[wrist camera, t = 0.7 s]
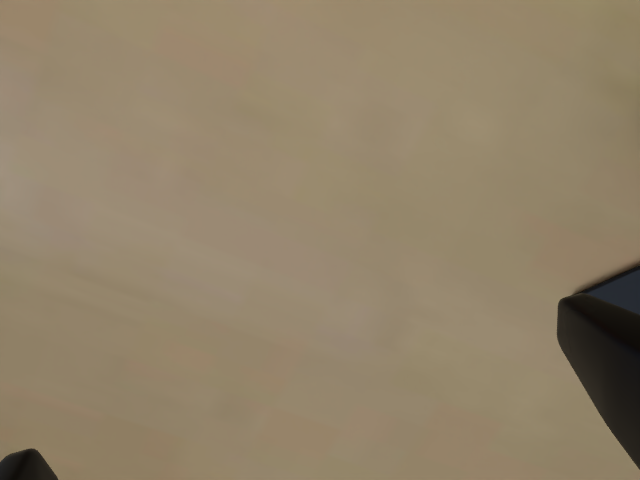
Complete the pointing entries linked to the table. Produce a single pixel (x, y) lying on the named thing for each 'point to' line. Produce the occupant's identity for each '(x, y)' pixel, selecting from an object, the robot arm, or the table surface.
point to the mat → (620, 290)
